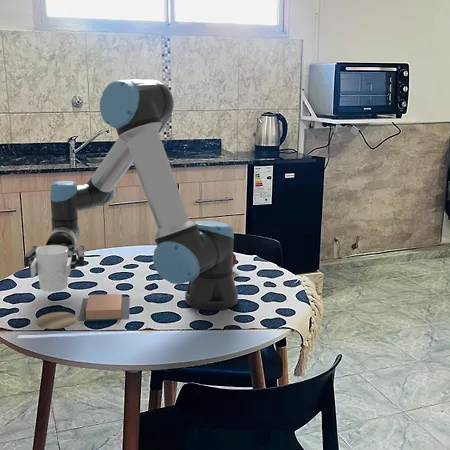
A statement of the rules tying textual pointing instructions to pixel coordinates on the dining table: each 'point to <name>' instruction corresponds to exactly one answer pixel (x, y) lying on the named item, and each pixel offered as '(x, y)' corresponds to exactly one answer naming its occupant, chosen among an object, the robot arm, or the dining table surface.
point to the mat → (123, 316)
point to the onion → (234, 259)
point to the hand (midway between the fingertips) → (50, 271)
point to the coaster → (56, 320)
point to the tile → (104, 306)
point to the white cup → (52, 267)
